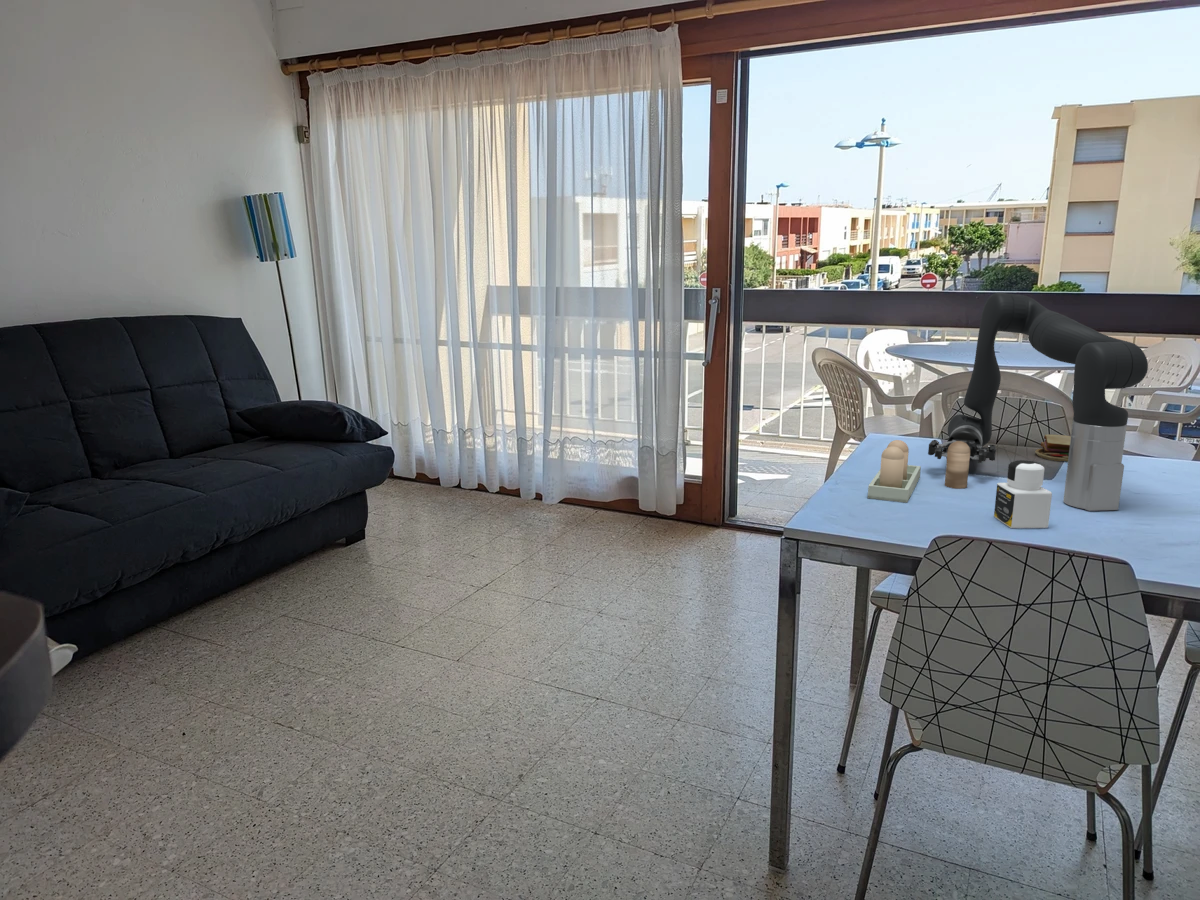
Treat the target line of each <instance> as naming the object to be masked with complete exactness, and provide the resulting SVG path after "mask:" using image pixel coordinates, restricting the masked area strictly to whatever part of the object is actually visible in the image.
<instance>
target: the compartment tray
mask: <svg viewBox="0 0 1200 900" xmlns="http://www.w3.org/2000/svg"><path fill="white" fill-rule="evenodd" d="M909 450H910V449H909V446H908V444H907V443H906V442H905V441H903V440H900V439H895V440H891V441H890V442H889V443H888V445H887V446H886V448H885V449H883V450H882V453H881V458H880V469H879V470H878V472H877V473H876V474H875V476H874V477H873V478H872V480H871V481H870V483H869V484H868V487H867V499H870V500H878V501H879V500H880V501H889V502H898V503H903V504H904V503H905V504H906V503H908V502H909V500H910V498H911V496H912V494H913V492H914V491H915V488H916V487H917V484H918V483H917V482H919V481H918V480H920V479H919V478H921V468H922V466H921V465H910V464H909V452H910V451H909Z"/></svg>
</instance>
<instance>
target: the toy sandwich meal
mask: <svg viewBox="0 0 1200 900" xmlns="http://www.w3.org/2000/svg"><path fill="white" fill-rule="evenodd" d="M1043 439H1044V441H1042V442H1040V447H1041V448H1037V449H1036V450H1035V451H1034V452H1035V454H1036V455H1037V456H1038V457H1039V458H1041V459H1045V460H1048V461H1053V460H1054V462H1060V461H1068V457H1069V449H1070V441H1071V435H1064V434H1052V433H1051V434H1044V437H1043Z"/></svg>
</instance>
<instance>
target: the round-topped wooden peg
mask: <svg viewBox="0 0 1200 900" xmlns="http://www.w3.org/2000/svg"><path fill="white" fill-rule="evenodd" d="M970 461H971V460H970V448H969V446H968V445H967V444H966V443H965V442H962V441H956V442H953V443H952V444H950V446H949V447H948V452H947V457H946V466H945V476H944V486H945V487H946V488H951V489H955V490H958V489H959V490H963V489H967V488H968V480H969V471H970V470H969V469H970Z"/></svg>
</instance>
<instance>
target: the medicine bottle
mask: <svg viewBox="0 0 1200 900" xmlns="http://www.w3.org/2000/svg"><path fill="white" fill-rule="evenodd" d="M1045 470H1046V469H1045V466H1044V465H1043V464H1042V463H1040V462H1037V461H1034V460H1033V461H1032V460H1026V459H1023V460H1022V459H1020V460H1019V459H1018V460H1014V461H1010V462H1009V463H1008V469H1007V475H1006V481H1007V482H997V484H996V491H995V492H996V493H995V501H994V511H993V517H994V518H995V519H996V520H997V521H1000V523H1002V524H1004V525H1005V526H1007V527H1008V528H1010V529H1048V528H1049V523H1050V516H1051V507H1052V499H1053V493H1052V491H1050V490H1048V489H1046V488H1044V487H1042V486H1043V484H1044V477H1045V476H1044V475H1045Z"/></svg>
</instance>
